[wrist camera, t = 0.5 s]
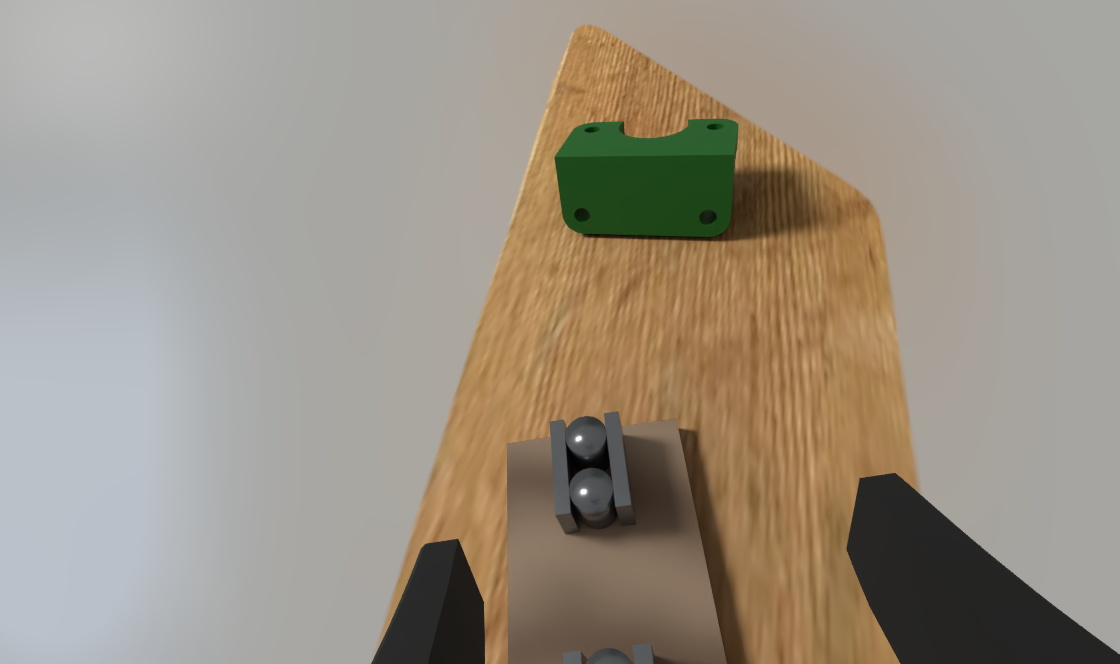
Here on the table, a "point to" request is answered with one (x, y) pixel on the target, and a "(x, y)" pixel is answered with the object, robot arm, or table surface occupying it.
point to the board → (609, 562)
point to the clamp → (648, 180)
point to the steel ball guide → (593, 497)
